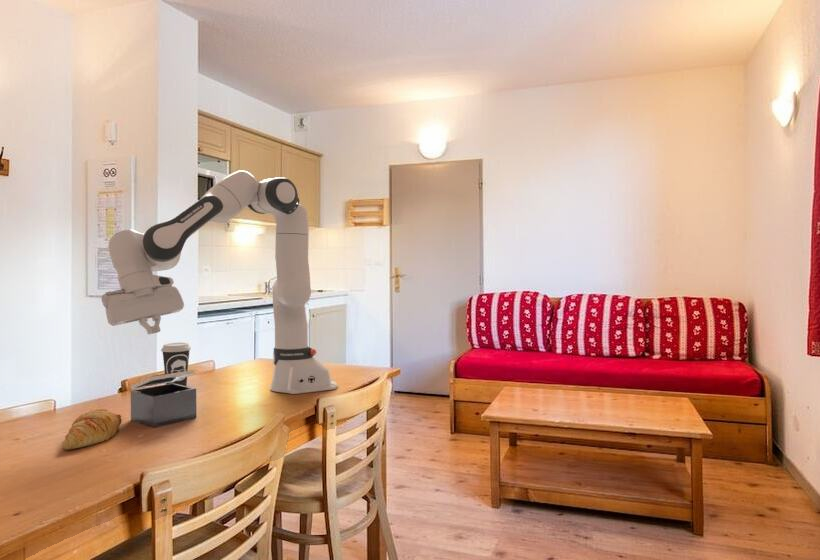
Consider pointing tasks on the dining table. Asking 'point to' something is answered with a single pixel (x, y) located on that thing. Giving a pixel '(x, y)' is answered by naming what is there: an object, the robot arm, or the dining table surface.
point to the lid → (162, 379)
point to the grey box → (163, 404)
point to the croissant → (92, 429)
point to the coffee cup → (176, 359)
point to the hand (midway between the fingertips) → (154, 332)
